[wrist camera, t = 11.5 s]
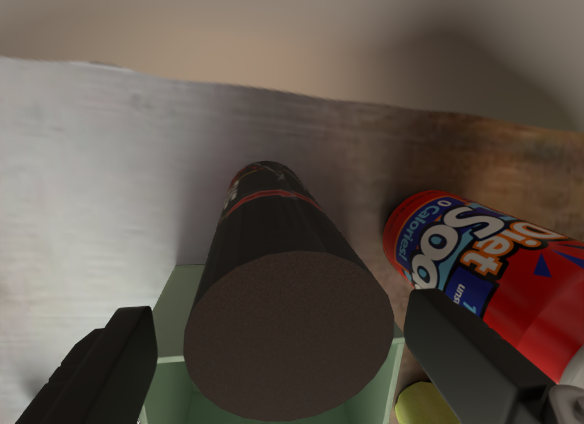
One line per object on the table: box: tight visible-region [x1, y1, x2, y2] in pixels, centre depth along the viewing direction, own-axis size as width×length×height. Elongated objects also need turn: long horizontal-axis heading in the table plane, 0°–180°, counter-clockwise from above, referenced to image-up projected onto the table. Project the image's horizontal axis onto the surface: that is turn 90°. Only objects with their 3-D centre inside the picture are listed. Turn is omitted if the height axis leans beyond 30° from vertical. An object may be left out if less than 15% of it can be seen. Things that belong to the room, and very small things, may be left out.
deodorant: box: [183, 161, 394, 422], centre depth 15 cm, size 6×6×15 cm
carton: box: [139, 265, 405, 424], centre depth 21 cm, size 15×14×9 cm
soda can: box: [383, 190, 584, 389], centre depth 18 cm, size 8×8×15 cm
